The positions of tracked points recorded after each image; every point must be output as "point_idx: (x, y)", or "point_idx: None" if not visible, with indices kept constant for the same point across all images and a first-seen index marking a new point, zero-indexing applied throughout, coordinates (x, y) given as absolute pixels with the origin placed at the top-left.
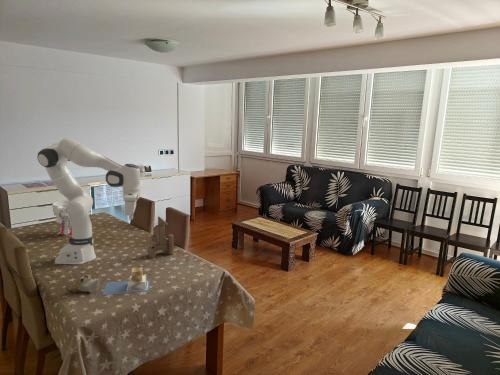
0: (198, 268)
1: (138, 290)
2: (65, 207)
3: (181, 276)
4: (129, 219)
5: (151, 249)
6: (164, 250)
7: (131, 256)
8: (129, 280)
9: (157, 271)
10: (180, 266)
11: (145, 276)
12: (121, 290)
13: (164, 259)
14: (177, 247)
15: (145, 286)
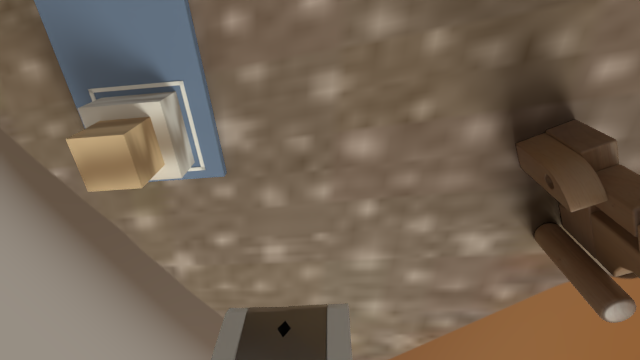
0: None
1: None
2: None
3: (276, 279)
4: (230, 308)
5: (542, 169)
6: (569, 214)
7: (584, 22)
8: (106, 108)
9: (332, 191)
10: (378, 274)
11: (165, 177)
12: (93, 62)
13: (477, 209)
14: None
15: None
